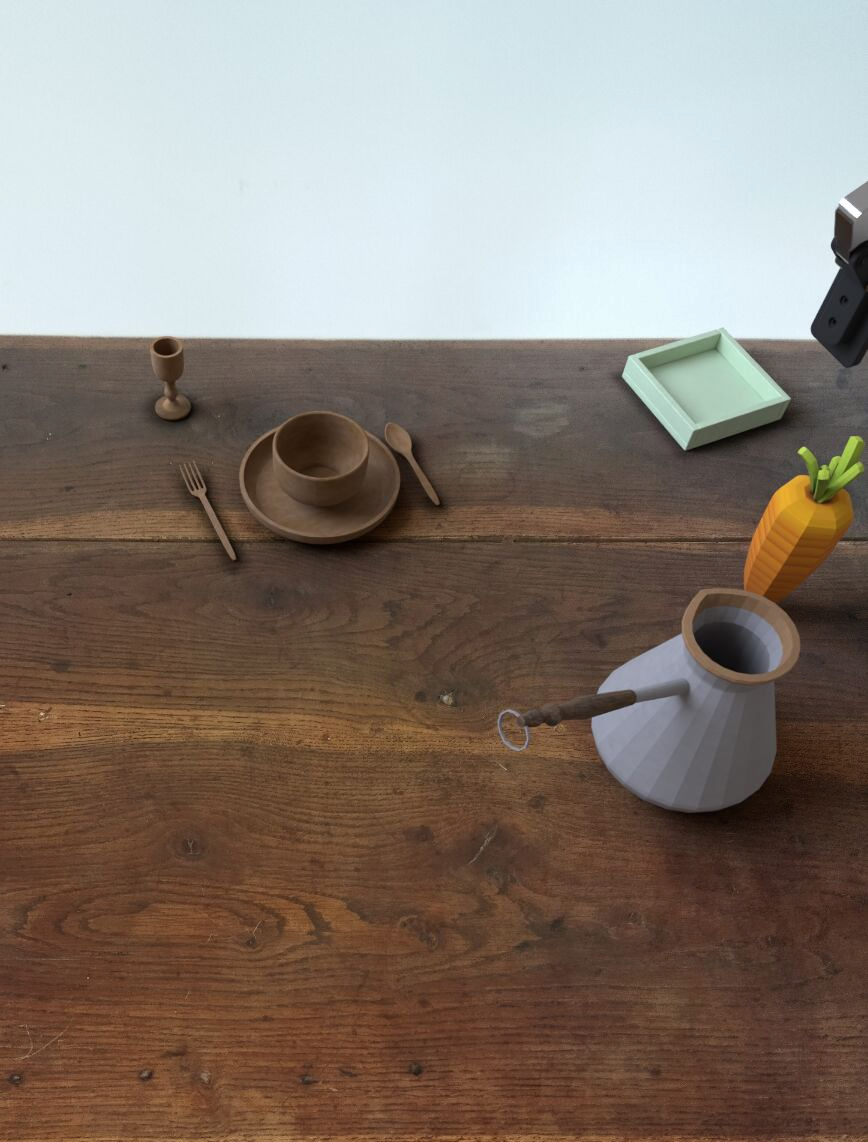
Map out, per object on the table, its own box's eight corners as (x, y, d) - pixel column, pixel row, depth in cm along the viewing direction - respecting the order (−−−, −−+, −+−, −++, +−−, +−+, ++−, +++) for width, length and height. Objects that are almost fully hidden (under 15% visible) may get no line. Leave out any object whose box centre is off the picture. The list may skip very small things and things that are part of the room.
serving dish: (714, 347, 90) (723, 326, 88) (780, 419, 86) (791, 398, 84) (621, 376, 88) (628, 355, 86) (684, 451, 84) (693, 430, 82)
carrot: (736, 643, 74) (833, 488, 61) (704, 589, 77) (790, 428, 64) (800, 627, 75) (908, 471, 62) (765, 574, 77) (863, 413, 65)
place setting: (237, 585, 76) (234, 528, 71) (143, 403, 85) (135, 341, 80) (456, 514, 80) (467, 455, 75) (343, 347, 89) (347, 285, 84)
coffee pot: (684, 655, 74) (770, 501, 61) (795, 786, 69) (914, 648, 56) (418, 778, 68) (449, 638, 55) (517, 930, 63) (577, 814, 50)
